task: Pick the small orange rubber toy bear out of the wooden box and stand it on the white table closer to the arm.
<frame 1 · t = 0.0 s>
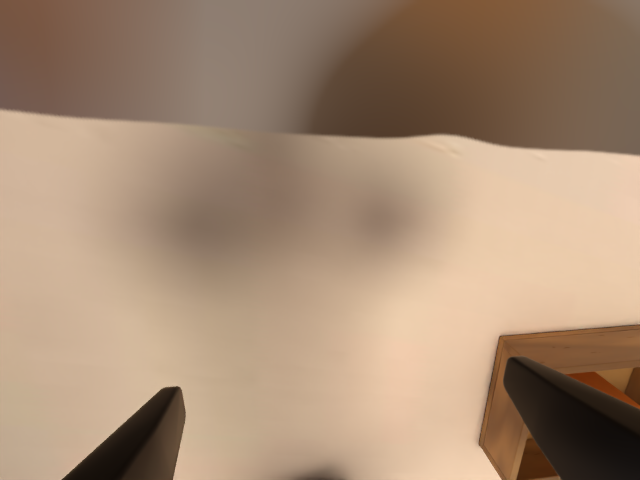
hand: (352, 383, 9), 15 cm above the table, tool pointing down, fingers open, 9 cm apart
toy bear: (565, 391, 30), point 1 cm above the table, touching wooden box
wooden box: (559, 386, 30), on the table
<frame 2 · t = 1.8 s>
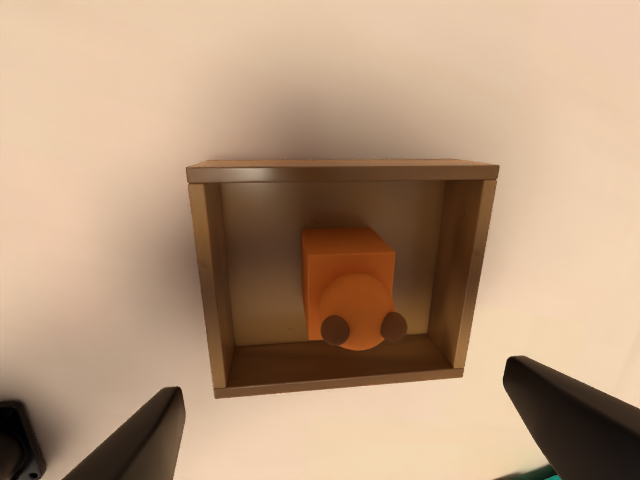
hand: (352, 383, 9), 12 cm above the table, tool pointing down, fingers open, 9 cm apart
toy bear: (335, 263, 20), point 1 cm above the table, touching wooden box
wooden box: (334, 260, 20), on the table
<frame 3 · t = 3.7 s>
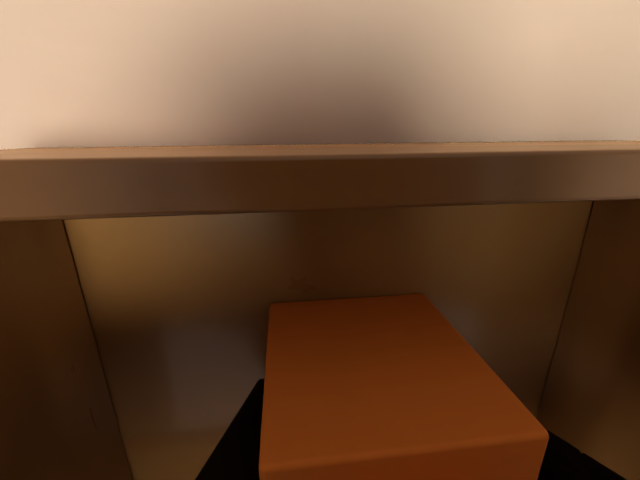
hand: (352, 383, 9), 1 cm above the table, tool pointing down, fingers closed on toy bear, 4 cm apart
toy bear: (347, 367, 9), point 1 cm above the table, touching wooden box, gripper
wooden box: (344, 354, 10), on the table
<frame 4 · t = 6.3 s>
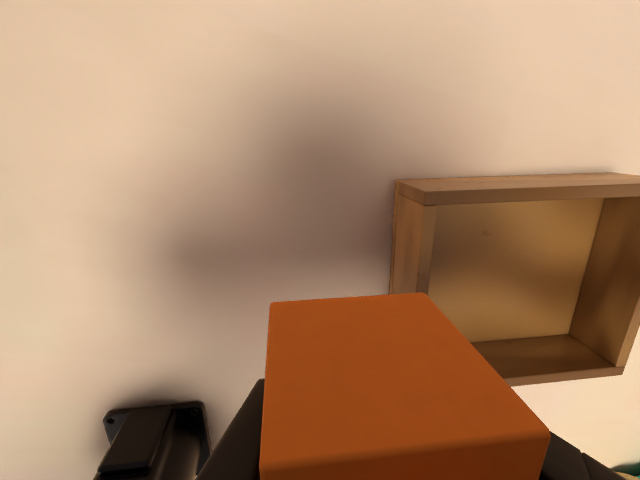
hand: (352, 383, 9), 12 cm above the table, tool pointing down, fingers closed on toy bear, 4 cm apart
toy bear: (347, 366, 9), point 11 cm above the table, touching gripper
wooden box: (492, 267, 22), on the table
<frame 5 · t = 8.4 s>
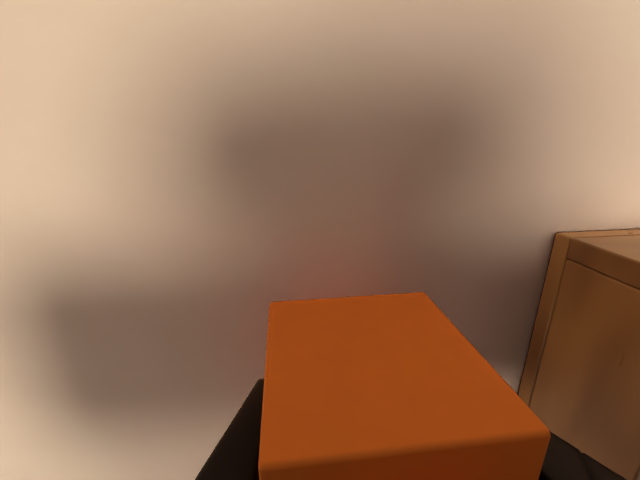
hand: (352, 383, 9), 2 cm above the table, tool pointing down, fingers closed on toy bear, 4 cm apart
toy bear: (347, 366, 9), point 2 cm above the table, touching gripper
when the fingers open (1 cm above the table, at t = 9.3 s): toy bear stays where it is, on the table.
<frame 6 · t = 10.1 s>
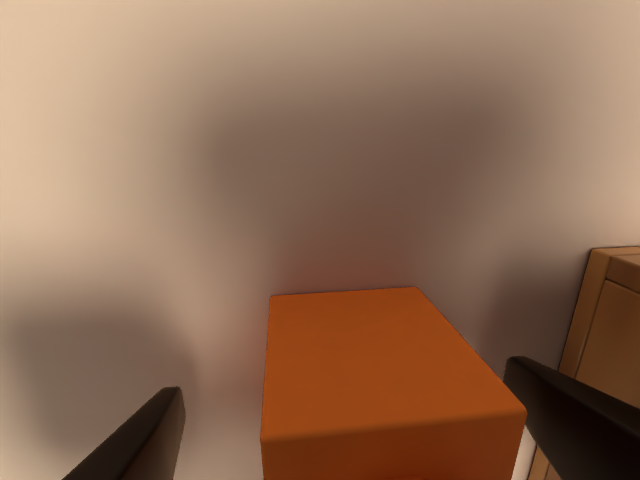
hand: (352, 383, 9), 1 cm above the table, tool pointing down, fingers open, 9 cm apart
toy bear: (344, 358, 10), on the table
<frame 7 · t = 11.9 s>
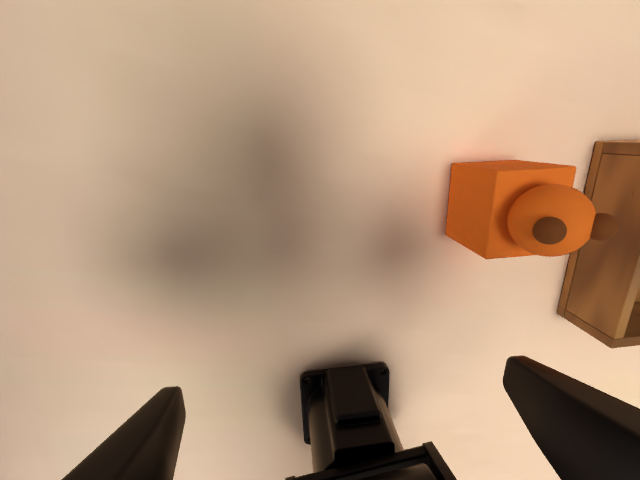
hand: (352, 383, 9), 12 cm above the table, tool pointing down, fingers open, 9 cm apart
toy bear: (479, 198, 20), on the table
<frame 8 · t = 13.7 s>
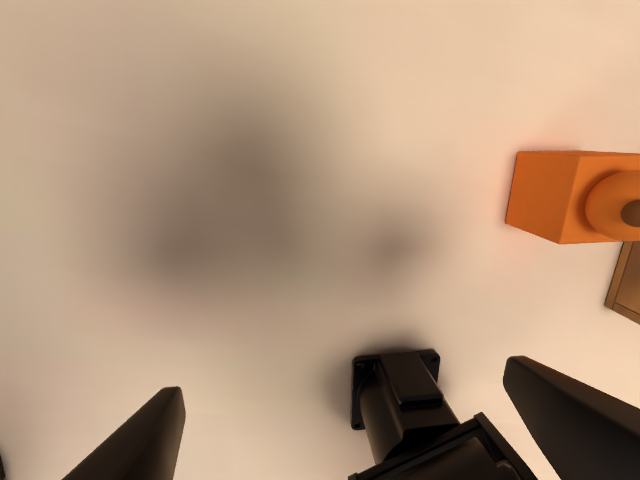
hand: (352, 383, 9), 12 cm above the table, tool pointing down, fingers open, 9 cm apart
toy bear: (540, 187, 21), on the table
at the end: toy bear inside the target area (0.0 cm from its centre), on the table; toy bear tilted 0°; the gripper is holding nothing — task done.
